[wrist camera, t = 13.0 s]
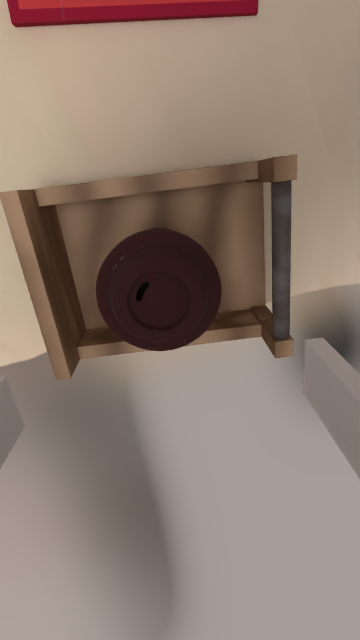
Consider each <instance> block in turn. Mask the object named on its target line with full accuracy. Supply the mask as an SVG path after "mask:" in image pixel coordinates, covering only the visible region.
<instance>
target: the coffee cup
mask: <svg viewBox="0 0 360 640" xmlns="http://www.w3.org/2000/svg"><path fill="white" fill-rule="evenodd" d="M221 295H222V288H221V280H220V276H219V273H218V270H217V267H216V266H215V264H214V262H213V260H212V258H211V257H210V255H209V254H208V253H207V251H206V250H205V249H204V248H203V247H202V246H201V245H200V244H199V243H197V242H196V241H195V240H193V239H192V238H190V237H188V236H186V235H184V234H182V233H180V232H176V231H174V230H171V229H167V228H153V229H148V230H144V231H140V232H137V233H135V234H132V235H130V236H128V237H127V238H125V239H123V240H122V241H121V242H120V243H118V244H117V245H116V246H115V247H114V248H113V249H112V250H111V252H110V253H109V254H108V255H107V257H106V258H105V260H104V262H103V263H102V265H101V267H100V270H99V273H98V276H97V281H96V299H97V305H98V308H99V311H100V313H101V315H102V317H103V319H104V321H105V323H106V324H107V325H108V327H109V328H110V329H111V330H112V331H113V332H114V333H115V334H116V335H117V336H118V337H119V338H121V339H122V340H124V341H125V342H127V343H129V344H131V345H133V346H136V347H138V348H141V349H146V350H150V351H166V350H173V349H177V348H180V347H183V346H186V345H188V344H189V343H191V342H193V341H194V340H196V339H197V338H199V337H200V336H201V335H202V334H203V333H204V332H205V331H206V330H207V329H208V328H209V327H210V325H211V324H212V322H213V321H214V319H215V317H216V315H217V313H218V310H219V307H220V303H221Z"/></svg>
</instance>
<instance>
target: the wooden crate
mask: <svg viewBox="0 0 360 640" xmlns="http://www.w3.org/2000/svg"><path fill="white" fill-rule="evenodd" d="M295 179H297V154H296V155H288V156H281V157H273V158H269V159H265V160H260V161H254V162H247V163H239V164H231V165H223V166H215V167H207V168H199V169H191V170H184V171H176V172H168V173H160V174H152V175H144V176H136V177H128V178H120V179H113V180H105V181H97V182H89V183H81V184H73V185H65V186H57V187H49V188H42V189H32V190H16V191H8V192H0V199H1V202H2V205H3V209H4V212H5V215H6V218H7V222H8V225H9V228H10V231H11V235H12V238H13V241H14V244H15V248H16V251H17V254H18V257H19V261H20V264H21V267H22V270H23V274H24V277H25V280H26V283H27V287H28V290H29V293H30V296H31V300H32V303H33V306H34V309H35V313H36V316H37V319H38V323H39V326H40V329H41V332H42V336H43V339H44V342H45V345H46V349H47V352H48V355H49V358H50V361H51V365H52V368H53V371H54V375H55V378H56V380H61V379H69V378H71V377H72V374H73V372H74V370H75V368H76V366H77V364H78V362H79V360H80V359H85V358H92V357H100V356H108V355H117V354H124V353H133V352H141V351H149V350H146V349H141V348H138V347H136V346H133V345H131V344H129V343H127V342H125V341H124V340H122V339H121V338H119V337H118V336H117V335H116V334H115V333H114V332H113V331H112V330H111V329H110V328H109V327H108V325H107V324H106V323H105V321H104V319H103V317H102V315H101V313H100V311H99V308H98V305H97V299H96V281H97V276H98V273H99V270H100V267H101V265H102V263H103V262H104V260H105V258H106V257H107V255H108V254H109V253H110V252H111V250H112V249H113V248H114V247H115V246H116V245H117V244H118V243H120V242H121V241H122V240H123V239H125V238H127V237H128V236H130V235H132V234H135V233H137V232H140V231H144V230H148V229H153V228H167V229H171V230H174V231H176V232H180V233H182V234H184V235H186V236H188V237H190V238H192V239H193V240H195V241H196V242H197V243H199V244H200V245H201V246H202V247H203V248H204V249H205V250H206V251H207V253H208V254H209V255H210V257H211V258H212V260H213V262H214V264H215V266H216V267H217V270H218V273H219V276H220V280H221V288H222V295H221V303H220V307H219V310H218V313H217V315H216V317H215V319H214V321H213V322H212V324H211V325H210V327H209V328H208V329H207V330H206V331H205V332H204V333H203V334H202V335H201V336H200V337H199V338H197V339H196V340H194V341H193V342H191V343H189V344H188V345H186V346H189V345H197V344H205V343H213V342H221V341H229V340H237V339H245V338H254V337H262V338H263V339H264V341H265V342H266V344H267V346H268V347H269V349H270V351H271V352H272V354H273V355H274V357H275V358H280V357H288V356H293V349H294V348H293V347H294V345H293V344H294V340H293V338H292V337H291V336H290V335H289V334H290V333H289V332H290V330H289V329H290V257H291V180H295ZM263 182H271V203H272V307H273V308H272V310H273V314H272V313H271V311H270V310H269V309H268V308H267V307H266V305H265V263H264V208H263Z"/></svg>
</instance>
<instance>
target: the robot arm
mask: <svg viewBox="0 0 360 640" xmlns="http://www.w3.org/2000/svg"><path fill="white" fill-rule="evenodd" d="M304 361H305V362H304V389H303V393H304V394H305V395H306V397H307V399H308V400H309V402H310V404H311V405H312V407H313V408H314V410H315V411H316V413H317V414H318V416H319V417H320V419H321V420H322V422H323V423H324V425H325V427H326V428H327V430H328V431H329V433H330V434H331V436H332V437H333V439H334V440H335V442H336V443H337V445H338V446H339V448H340V450H341V451H342V453H343V454H344V456H345V457H346V459H347V460H348V462H349V463H350V465H351V466H352V468H353V469H354V471H355V473H356V474H357V476H358V477H359V478H360V374H359V373H358V372H357V371H356V370H355V369H354V368H353V367H352V366H351V365H350V364H349V363H348V362H347V361H346V360H345V359H344V358H343V357H342V356H340V354H339V353H338V352H336V351H335V349H334V348H333V347H332V346H331V345H330V344H329V343H328V342H327V341H326V340H325V339H324V338H316V339H307V340H305V359H304ZM24 427H25V425H24V422H23V420H22V417H21V415H20V412H19V409H18V406H17V404H16V401H15V398H14V396H13V393H12V390H11V388H10V385H9V382H8V380H7V377H6V376H4V377H0V468H1V467H2V465H3V463H4V462H5V460H6V458H7V456H8V455H9V453H10V451H11V449H12V448H13V446H14V444H15V442H16V440H17V439H18V437H19V436H20V434H21V432H22V430H23V429H24Z"/></svg>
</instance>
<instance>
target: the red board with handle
mask: <svg viewBox="0 0 360 640" xmlns="http://www.w3.org/2000/svg"><path fill="white" fill-rule="evenodd" d="M7 3H8V8H9V12H10V17H11V22H12V24H13V25H14V26H15V27H27V26H47V25H67V24H88V23H108V22H128V21H149V20H169V19H189V18H210V17H230V16H250V15H257V13H258V0H7Z"/></svg>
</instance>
